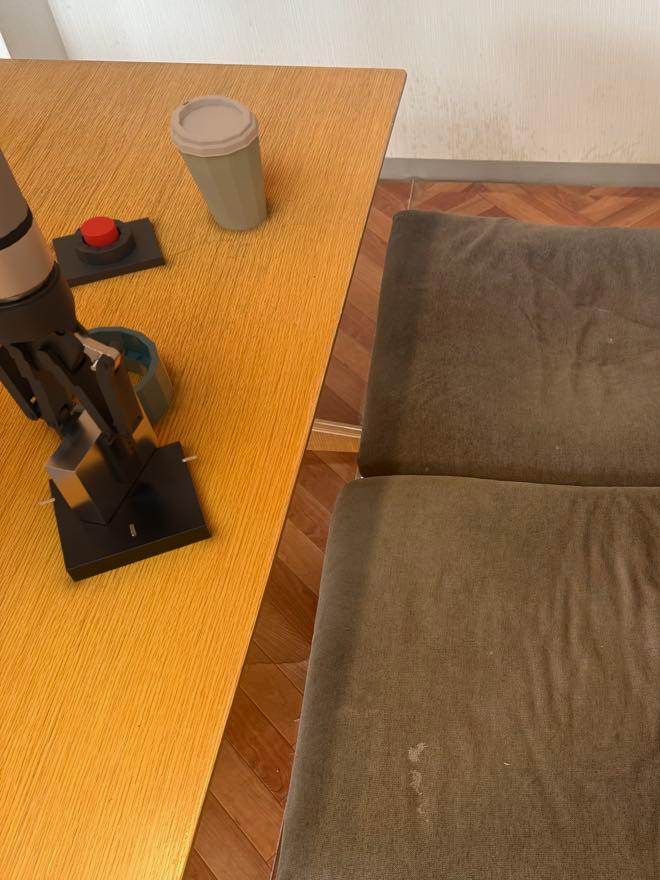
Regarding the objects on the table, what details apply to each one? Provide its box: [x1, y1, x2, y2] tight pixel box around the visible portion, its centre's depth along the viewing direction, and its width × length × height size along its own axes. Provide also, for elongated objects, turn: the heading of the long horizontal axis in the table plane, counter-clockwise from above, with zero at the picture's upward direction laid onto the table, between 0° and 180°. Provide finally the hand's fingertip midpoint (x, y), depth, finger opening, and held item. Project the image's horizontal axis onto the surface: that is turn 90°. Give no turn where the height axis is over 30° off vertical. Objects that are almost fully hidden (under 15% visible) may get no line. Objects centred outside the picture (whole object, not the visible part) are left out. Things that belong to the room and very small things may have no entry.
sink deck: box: [39, 440, 213, 583], centre depth 90 cm, size 15×17×3 cm
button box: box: [51, 216, 166, 289], centre depth 112 cm, size 12×9×4 cm
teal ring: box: [64, 325, 174, 427], centre depth 97 cm, size 13×13×6 cm
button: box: [79, 215, 119, 247], centre depth 110 cm, size 4×4×2 cm
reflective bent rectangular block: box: [43, 391, 160, 525], centre depth 86 cm, size 11×3×8 cm, turn 167°
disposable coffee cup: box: [169, 94, 268, 231], centre depth 113 cm, size 11×11×15 cm
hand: (115, 470), depth 88 cm, fingers closed on reflective bent rectangular block, 3 cm apart
